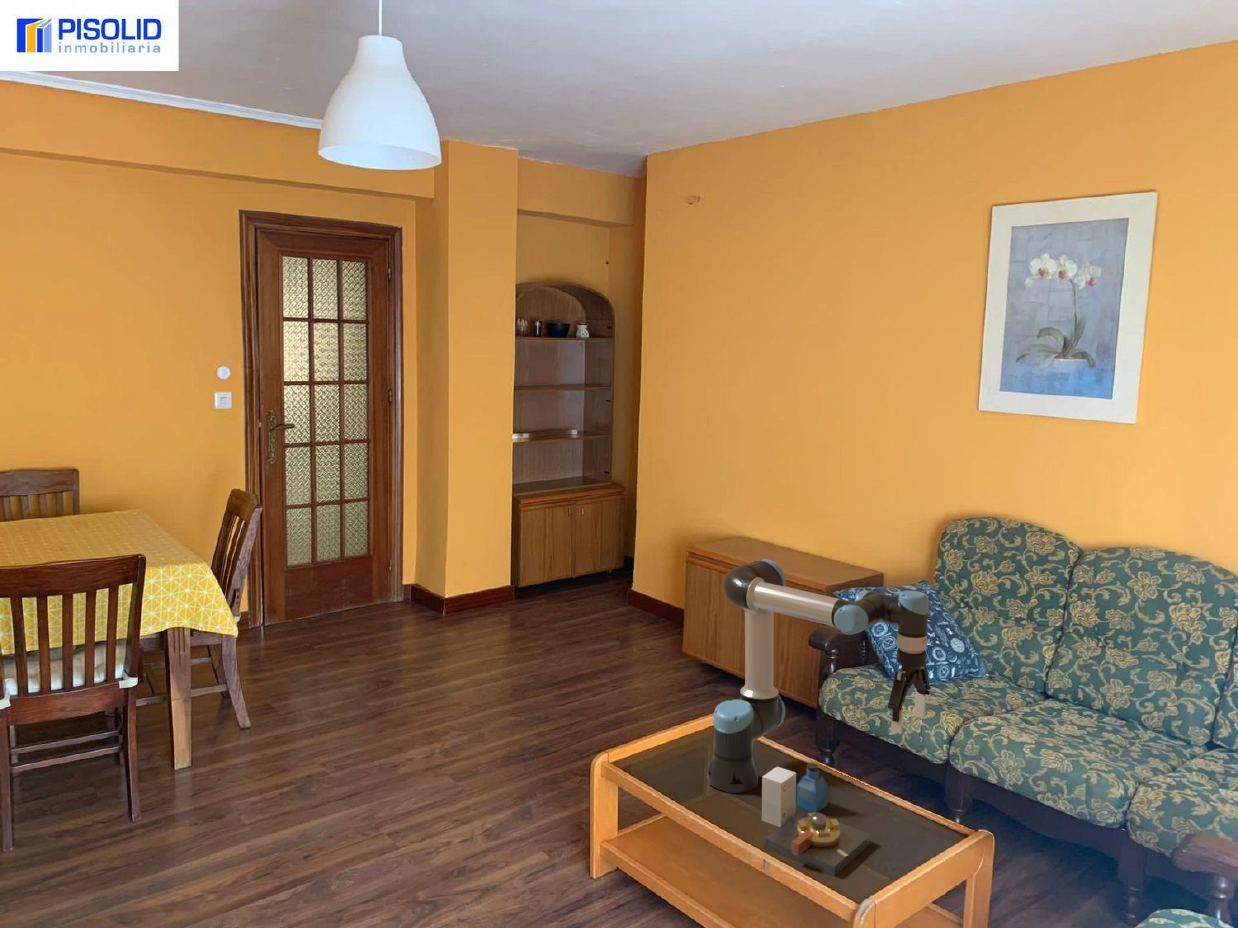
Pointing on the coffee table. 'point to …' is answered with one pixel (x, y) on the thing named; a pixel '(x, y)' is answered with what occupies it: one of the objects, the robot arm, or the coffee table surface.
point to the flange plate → (819, 857)
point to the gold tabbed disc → (815, 835)
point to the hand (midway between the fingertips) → (908, 724)
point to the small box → (778, 796)
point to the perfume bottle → (812, 790)
